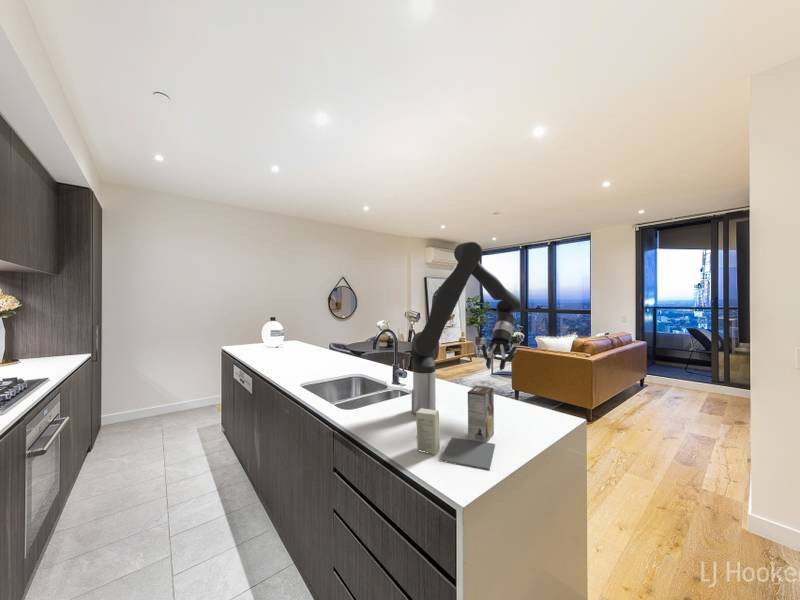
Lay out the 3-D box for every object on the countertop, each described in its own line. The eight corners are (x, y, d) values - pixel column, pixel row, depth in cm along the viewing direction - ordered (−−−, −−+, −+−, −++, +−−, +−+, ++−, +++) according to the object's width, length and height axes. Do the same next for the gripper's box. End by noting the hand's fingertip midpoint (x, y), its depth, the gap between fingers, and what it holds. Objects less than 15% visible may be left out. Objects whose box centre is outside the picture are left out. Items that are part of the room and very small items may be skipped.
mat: (439, 460, 92) (439, 459, 92) (451, 438, 107) (451, 437, 107) (489, 470, 87) (489, 468, 87) (495, 445, 102) (495, 443, 102)
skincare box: (440, 449, 99) (440, 410, 99) (435, 455, 95) (435, 414, 95) (421, 445, 102) (420, 407, 102) (415, 451, 98) (415, 411, 98)
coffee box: (476, 429, 114) (476, 385, 114) (494, 433, 110) (494, 387, 110) (467, 439, 106) (467, 391, 106) (486, 444, 103) (486, 394, 103)
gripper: (483, 327, 134) (474, 361, 124) (518, 329, 127) (512, 364, 117) (487, 338, 139) (478, 371, 129) (521, 340, 131) (515, 376, 121)
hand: (494, 368), depth 123 cm, fingers open, 4 cm apart
